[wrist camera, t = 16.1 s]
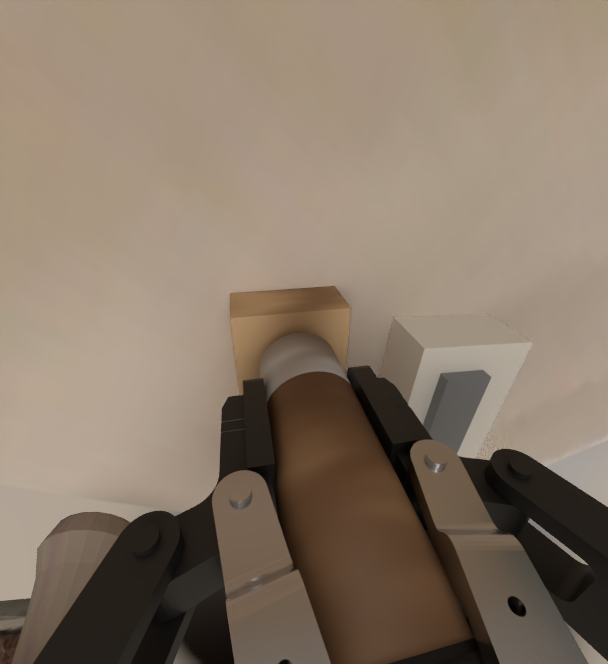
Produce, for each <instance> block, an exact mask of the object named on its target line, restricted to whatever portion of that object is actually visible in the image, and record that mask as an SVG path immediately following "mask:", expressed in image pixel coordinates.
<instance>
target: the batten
mask: <svg viewBox="0 0 608 664" xmlns="http://www.w3.org/2000/svg"><path fill="white" fill-rule="evenodd" d="M350 315H351V307H350V306H349V305H348V303H347V302H346V301H345V299H344V298H343V297H342V295H341V294H340V293H339V291H338V290H337V289H336V287H335V286H330V287H316V288H302V289H288V290H274V291H260V292H246V293H232V294H230V323H231V330H232V338H233V346H234V354H235V361H236V369H237V377H238V385H239V392H240V395H243V380H249V379H257V378H260V371H259V368H260V361H261V358H262V356H263V354H264V353H265V351H266V350H267V348H268V347H269V346H270V345H271V344H273V343H274V342H275V341H277V340H278V339H280V338H282V337H284V336H287V335H290V334H295V333H310V334H314V335H317V336H320V337H322V338H323V339H325V340H326V341H327V342H328V343H329V344H330V345H331V347H332V348H333V350H334V352H335V354H336V356H337V358H338V360H339V362H340V364H341V366H342V368H343V370H344V372H345V371H346V359H347V348H348V337H349V326H350ZM277 517H278V516H277Z"/></svg>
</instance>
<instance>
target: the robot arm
mask: <svg viewBox="0 0 608 664" xmlns="http://www.w3.org/2000/svg"><path fill="white" fill-rule="evenodd" d="M347 378H348V380H349V382H350V384H351V386H352V388H353V390H354V392H355V394H356V396H357V398H358V400H359V402H360V404H361V405H362V407H363V409H364V411H365V413H366V415H367V417H368V419H369V421H370V423H371V425H372V427H373V429H374V431H375V433H376V435H377V437H378V439H379V441H380V443H381V445H382V447H383V449H384V451H385V453H386V455H387V457H388V459H389V461H390V463H391V465H392V466H393V468H394V470H395V472H396V474H397V476H398V478H399V480H400V482H401V484H402V486H403V488H404V490H405V492H406V494H407V496H408V498H409V500H410V502H411V504H412V506H413V508H414V510H415V512H416V514H417V516H418V518H419V520H420V522H421V524H422V526H423V528H424V529H425V531H426V533H427V535H428V537H429V539H430V541H431V543H432V545H433V547H434V550H435V552H436V554H437V556H438V558H439V560H440V563H441V565H442V567H443V569H444V572H445V574H446V576H447V578H448V580H449V583H450V585H451V587H452V590H453V592H454V594H455V596H456V597H457V598H458V599H459V601H460V602H461V604H462V606H463V607H464V610H465V612H466V614H467V617H466V619H467V621H468V623H469V625H470V627H471V629H472V631H473V633H474V636H475V638H473V639H469V640H466V641H463V642H459V643H456V644H453V645H449V646H446V647H443V648H439V649H436V650H432V651H429V652H426V653H422V654H419V655H416V656H412V657H409V658H406V659H402V660H399V661H395V662H392V663H389V664H588V662H587V660H586V659H585V657H584V655H583V653H582V652H581V650H580V648H579V646H578V644H577V643H576V641H575V639H574V637H573V636H572V634H571V632H570V630H569V628H568V627H567V625H566V623H567V624H568V625H570V626H571V627H572V628H573V629H574V630H575V631H576V632H577V633H578V634H579V635H580V636H581V637H582V638H583V639H584V640H586V641H587V642H588V643H589V644H590V645H591V646H592V647H593V648H594V649H595V650H596V651H597V652H598V653H600V654H601V655H602V656H603V657H604V658H605V659H606V660H607V661H608V507H606V506H605V505H603V504H602V503H600V502H599V501H597V500H596V499H594V498H593V497H591V496H589V495H588V494H586V493H585V492H583V491H582V490H580V489H578V488H577V487H576V486H574V485H573V484H571V483H570V482H568V481H567V480H565V479H563V478H562V477H560V476H559V475H557V474H556V473H554V472H553V471H551V470H549V469H548V468H547V467H545V466H543V465H542V464H540V463H539V462H537V461H536V460H534V459H533V458H531V457H529V456H528V455H526V454H524V453H522V452H519V451H516V450H511V449H500V450H497V451H496V452H494V453H493V455H492V457H491V459H490V460H482V459H474V458H466V457H461V456H458V455H457V454H456V452H455V451H454V450H452V449H451V448H450V447H449V446H447V445H445V444H443V443H441V442H438V441H435V440H433V439H432V438H431V436H430V435H429V433H428V432H427V430H426V429H425V427H424V426H423V425H422V423H421V422H420V420H419V419H418V417H417V416H416V415H415V413H414V412H413V410H412V409H411V407H409V406H408V403H407V402H406V400H405V399H404V398H403V396H402V394H401V393H400V392H399V390H398V389H397V387H396V386H395V385H394V384H392V383H391V382H390V381H388V380H387V379H386V378H384V377H383V378H377V377H376V375H375V374H374V372H373V371H372V369H371V368H370V366H360V367H351V368H348V370H347ZM275 484H276V470H275V459H274V452H273V445H272V437H271V430H270V423H269V416H268V408H267V401H266V394H265V387H264V380H263V378H257V379H249V380H243V395H239V396H232V397H228V399H227V401H226V402H225V404H224V406H223V408H222V423H221V447H220V473H219V479H218V483H217V485H216V487H215V489H214V490H213V492H212V493H211V494H210V495H209V496H208V497H207V498H206V499H205V500H204V501H203V502H201V503H200V504H198V505H197V506H195V507H193V508H191V509H189V510H187V511H185V512H183V513H181V514H179V515H177V516H175V517H174V516H173V515H172V514H170V513H168V512H165V511H154V512H149V513H146V514H144V515H142V516H140V517H138V518H137V519H135V520H134V521H132V522H131V523H130V524H129V525H128V526H127V527H126V528H125V529H124V530H123V531H122V532H121V534H120V535H119V537H118V538H117V540H116V541H115V542H114V544H113V545H112V547H111V548H110V550H109V551H108V553H107V554H106V556H105V557H104V559H103V560H102V562H101V563H100V565H99V566H98V568H97V569H96V571H95V572H94V574H93V575H92V577H91V578H90V580H89V581H88V583H87V584H86V585H85V587H84V588H83V590H82V591H81V593H80V594H79V596H78V597H77V599H76V600H75V602H74V603H73V605H72V606H71V608H70V609H69V611H68V612H67V614H66V615H65V617H64V618H63V620H62V621H61V623H60V624H59V626H58V627H57V628H56V630H55V631H54V633H53V634H52V636H51V637H50V639H49V640H48V642H47V643H46V645H45V646H44V648H43V649H42V651H41V652H40V654H39V655H38V657H37V658H36V660H35V661H34V663H33V664H173V662H174V659H175V657H176V654H177V652H178V649H179V647H180V644H181V642H182V639H183V637H184V634H185V632H186V629H187V626H188V624H189V622H190V619H191V617H192V614H193V612H194V609H195V607H196V604H198V603H199V602H201V601H203V600H204V599H206V598H207V597H209V596H210V595H212V594H213V593H215V592H217V591H218V590H220V589H221V588H223V587H224V586H225V591H226V607H227V614H228V622H229V628H230V635H231V641H232V648H233V655H234V662H235V664H331V663H330V660H329V657H328V654H327V651H326V648H325V645H324V642H323V639H322V636H321V633H320V630H319V627H318V624H317V621H316V618H315V615H314V612H313V609H312V606H311V603H310V600H309V597H308V594H307V592H306V589H305V586H304V583H303V580H302V577H301V575H300V573H299V570H298V568H297V567H296V566H295V565H294V564H293V562H292V559H291V557H290V554H289V551H288V548H287V545H286V542H285V539H284V536H283V533H282V529H281V526H280V523H279V520H278V517H277V508H276V500H275ZM530 518H531V519H532V520H533V521H534V522H536V523H537V524H538V525H540V526H541V527H542V528H543V529H545V530H546V531H547V532H549V533H550V534H551V535H552V536H554V537H555V538H556V539H558V540H559V541H560V542H561V543H563V544H564V545H565V546H566V547H568V548H569V549H570V550H572V551H573V552H574V553H575V554H577V555H578V556H579V557H580V558H582V559H583V560H584V561H585V562H586V563H587V564H588V565H585V564H582V563H580V562H578V561H577V560H575V559H574V558H572V557H571V556H570V555H569V554H567V553H566V552H565V551H564V550H562V549H561V548H560V547H558V546H557V545H556V544H555V543H553V542H552V541H551V540H550V539H548V538H547V537H546V536H545V535H543V534H542V533H541V532H540V531H538V530H537V529H536V528H535V527H533V526H532V525H531V524H530V523H528V520H529V519H530ZM565 622H566V623H565Z"/></svg>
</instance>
